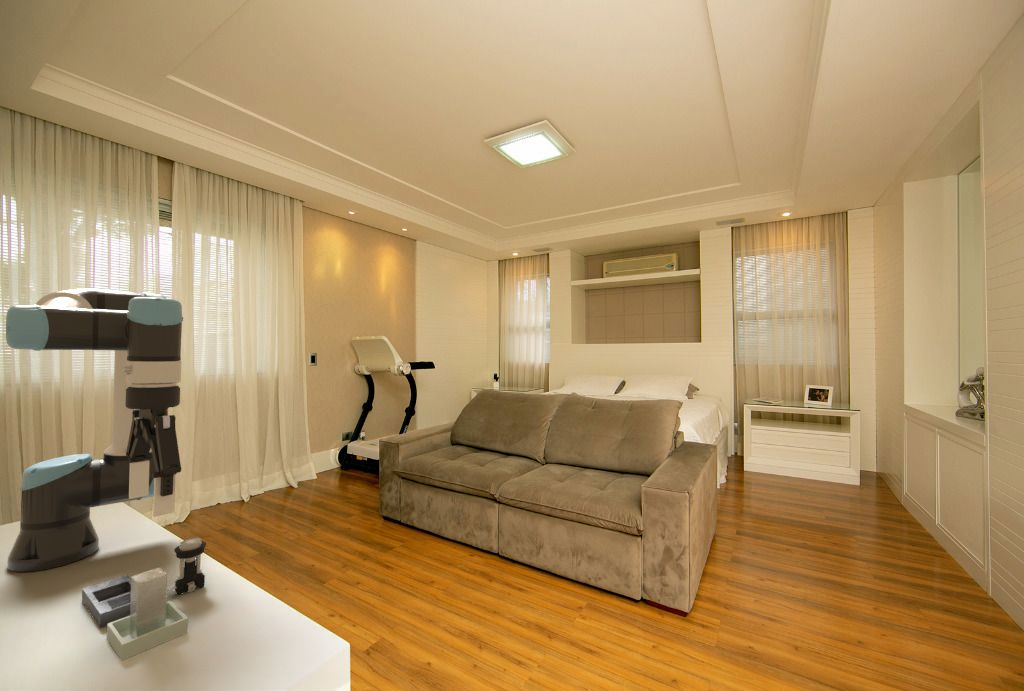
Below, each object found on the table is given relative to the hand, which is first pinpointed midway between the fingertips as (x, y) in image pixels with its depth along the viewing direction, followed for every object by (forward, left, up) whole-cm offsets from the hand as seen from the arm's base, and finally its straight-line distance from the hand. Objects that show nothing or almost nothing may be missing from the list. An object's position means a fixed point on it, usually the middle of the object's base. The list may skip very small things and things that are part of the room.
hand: (150, 505), depth 78 cm
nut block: (0, 0, -22) cm, 22 cm away
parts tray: (0, 0, -23) cm, 23 cm away
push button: (-11, +9, -23) cm, 27 cm away
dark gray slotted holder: (-16, -1, -23) cm, 28 cm away
